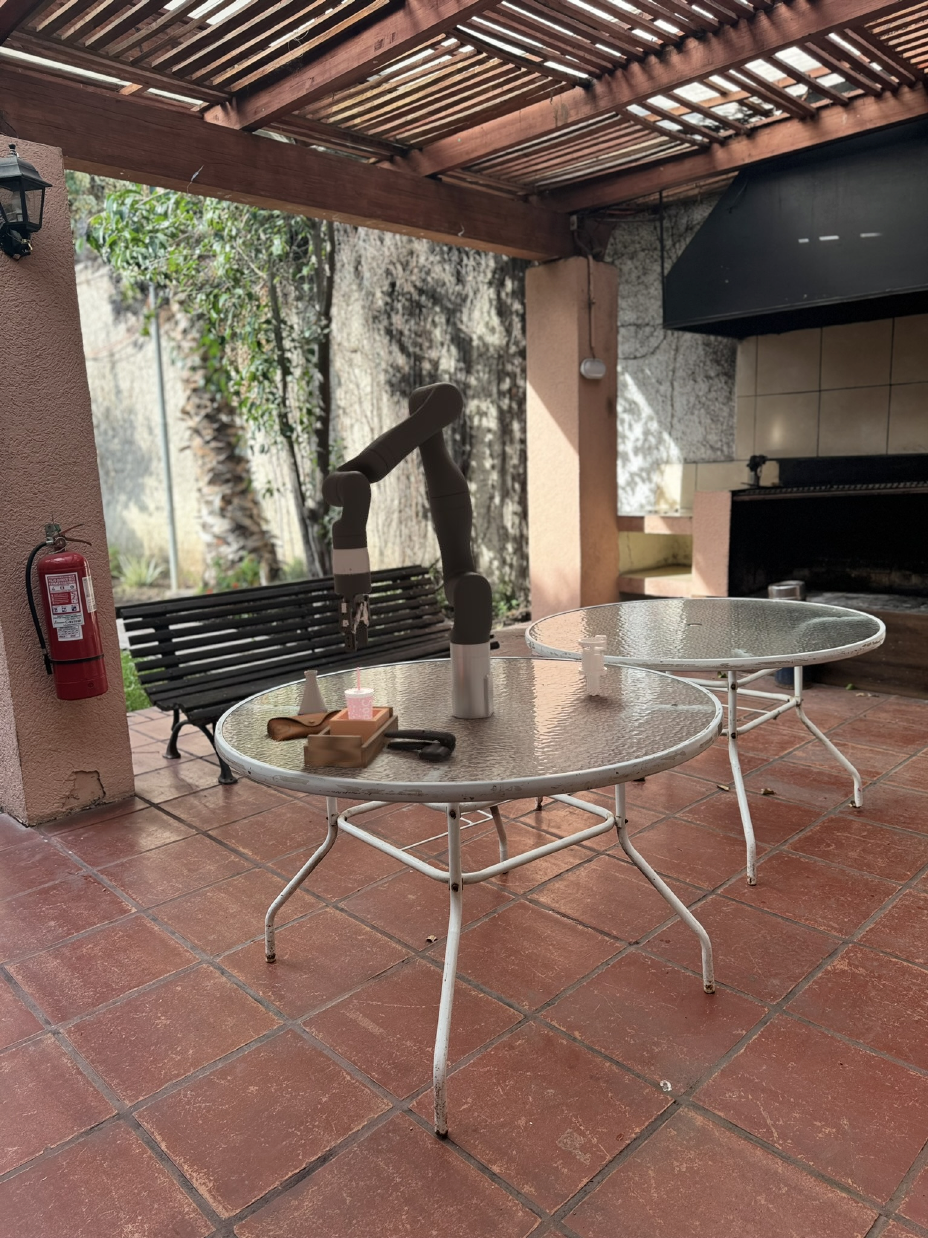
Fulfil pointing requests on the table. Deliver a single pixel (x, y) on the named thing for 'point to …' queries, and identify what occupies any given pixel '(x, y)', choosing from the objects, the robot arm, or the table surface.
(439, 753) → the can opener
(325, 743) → the bay
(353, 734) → the box
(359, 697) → the beverage cup
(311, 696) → the flask
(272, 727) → the sunglasses case
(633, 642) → the table surface
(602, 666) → the white plastic upright piece
